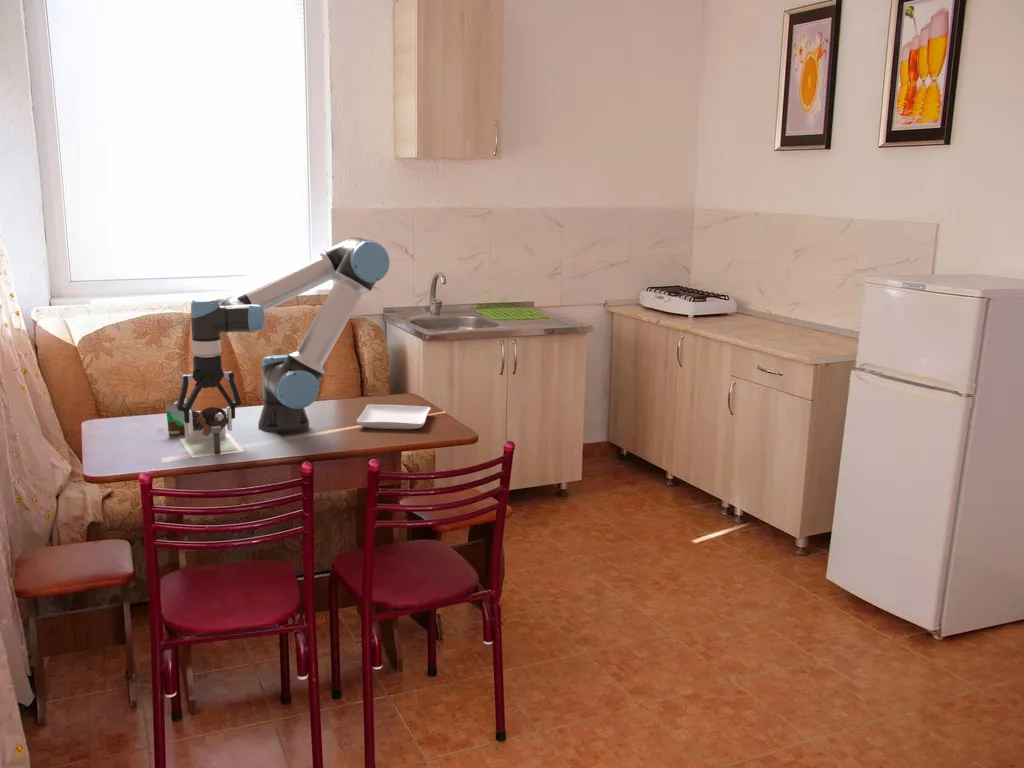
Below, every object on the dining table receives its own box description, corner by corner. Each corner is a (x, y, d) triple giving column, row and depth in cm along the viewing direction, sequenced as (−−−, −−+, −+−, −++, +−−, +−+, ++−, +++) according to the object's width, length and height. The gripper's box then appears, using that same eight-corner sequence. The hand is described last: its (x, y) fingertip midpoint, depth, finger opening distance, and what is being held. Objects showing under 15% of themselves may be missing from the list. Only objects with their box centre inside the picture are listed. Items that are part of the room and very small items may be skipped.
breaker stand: (228, 436, 277) (227, 410, 275) (244, 455, 260) (242, 427, 258) (179, 442, 271) (178, 415, 269) (191, 461, 254) (190, 432, 252)
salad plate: (424, 433, 287) (424, 422, 286) (355, 431, 287) (355, 420, 287) (431, 415, 308) (431, 405, 307) (367, 414, 308) (367, 403, 307)
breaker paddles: (218, 427, 272) (217, 417, 272) (218, 428, 272) (218, 418, 271) (193, 430, 269) (192, 419, 268) (193, 430, 268) (193, 420, 268)
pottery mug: (230, 428, 270) (233, 407, 265) (221, 450, 263) (224, 429, 258) (188, 417, 269) (191, 396, 264) (178, 439, 261) (180, 418, 256)
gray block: (221, 452, 259) (220, 426, 257) (222, 453, 257) (221, 427, 256) (212, 453, 258) (211, 426, 256) (213, 454, 256) (212, 428, 254)
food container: (188, 438, 275) (186, 405, 273) (167, 437, 275) (165, 405, 272) (201, 427, 287) (199, 395, 285) (181, 426, 287) (179, 395, 284)
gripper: (245, 349, 267) (247, 424, 272) (162, 354, 256) (166, 432, 261) (251, 354, 260) (253, 431, 265) (166, 359, 250) (170, 439, 255)
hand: (210, 431), depth 263 cm, fingers closed on pottery mug, 10 cm apart
